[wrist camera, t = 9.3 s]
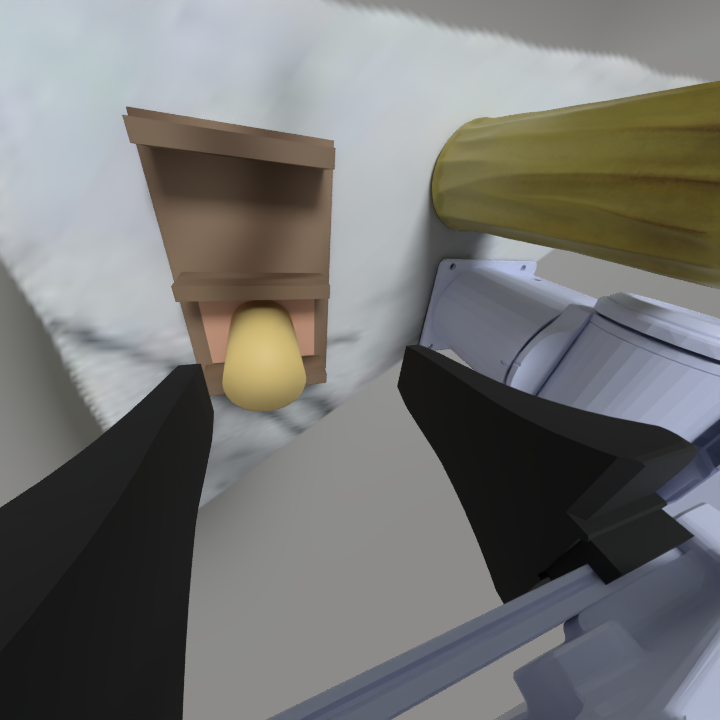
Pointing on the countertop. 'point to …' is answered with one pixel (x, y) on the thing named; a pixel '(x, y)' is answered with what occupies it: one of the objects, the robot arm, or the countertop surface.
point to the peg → (262, 358)
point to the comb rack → (240, 227)
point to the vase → (596, 180)
